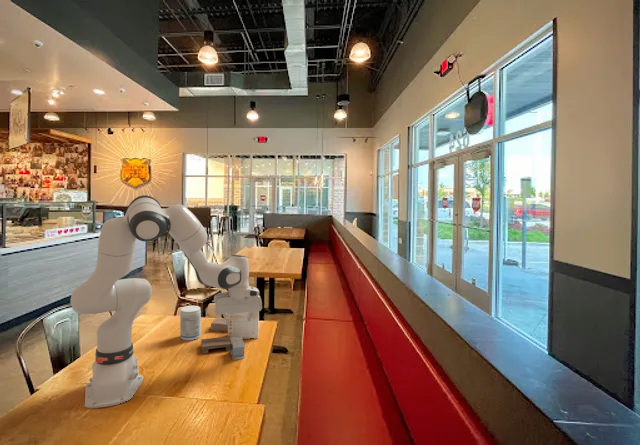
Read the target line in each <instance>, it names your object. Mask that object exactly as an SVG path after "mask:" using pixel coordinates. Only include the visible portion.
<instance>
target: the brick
mask: <svg viewBox="0 0 640 445" xmlns="http://www.w3.org/2000/svg"><path fill="white" fill-rule="evenodd" d="M210 328H211V329H210V330H211V331H212V330H213V331H214V332H222V331H228V324H226V320H225V318H224V317H216V318H214V319H213V321H212V322H211V323H210Z"/></svg>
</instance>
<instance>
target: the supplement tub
mask: <svg viewBox="0 0 640 445" xmlns="http://www.w3.org/2000/svg"><path fill="white" fill-rule="evenodd" d="M179 312H180V314H179V320H180V321H179V322H180V332H179V333H180V335H179V336H180V339H182V340H183V341H194V339H195V340H197V339H199V338H200V337H201V334H202V328H201V327H202V322H201V321H202V319H201V318H202V311H201V306H199V305H186V306H183V307H181V308H180V311H179Z"/></svg>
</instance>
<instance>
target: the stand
mask: <svg viewBox="0 0 640 445" xmlns="http://www.w3.org/2000/svg"><path fill="white" fill-rule="evenodd" d="M200 342H201V351H202V352H201V353H202V355H203V354H204V355H205V354H209V350H213V349H221V348H225V350H226V351H230V336H228V335H227V336H226V335H225V336H218V337H210V338H202V339H201V340H200Z"/></svg>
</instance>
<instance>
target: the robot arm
mask: <svg viewBox="0 0 640 445" xmlns="http://www.w3.org/2000/svg"><path fill="white" fill-rule="evenodd" d="M167 235H170V236H171V237H172V239H173V240H174V241H175V243H176V244H177V245H178V246H179V248H180V250H181V251H182V253H183V255H184V256H185V257H186V259H187V260H188V262H189V263H190V265H191V267H192V268H193V270H194V271H195V276H196V280H197V281H198V282H199V283H200V284H201V285H202V286H208V287H214V288H218V289H222V290H228V291H226V292H217V293H216V294H215V295H214V296H213V301H214V313H215V314H214V315H216V316H221V315H222V316H223V317H222V318H224V319H225V320H226V324H229V318H228V314H232V313H244V312H250V313H251V314H250V316H249V317H247V318H248V319H247V321H248V322H250V321H251V318H252V316H253V315H254V312H255V311H259V312H261V310H262V309H263V302H262V298H261V295H260V290H259V288H257V287H255V286H251V285H250V283H249V276H250V263H249V259H248V257H247V256H246V255H240V254H231V255H229V258H228V259H227V260H226V261H225V262H223V263H221V264H220V263H216V262H213V261H210V260H209V259H207V257H206V256H205V254H204V252H203V251H202V248H203V247H204V246H205V245H206V244H207V241H208V237H209V236H208V233H207V231H206V229H205V226H203V225H202V223H201V221H200V220H199V219H198V217H197V216H196V215H195V214H194V213H193V212H192V211H191V210H190V209H188V207H187V206H185V205H183V204H181V203H178V204H173V205H171V206H169V207H166V208H164V207H163V208H162V205H161V203H160V202H159V201H158V199H156V198H155V197H152V196H151V195H147V194H145V195H138V196H136V197H134V199H133V200H131V202H129V205H128V206H127V207H126V209H125V210H124V211H123V217H113V218H109V219H107V220H106V221H104V223H103V224H102V226H101V229H100V233H99V237H98V238H99V239H98V246H97V260H96V265H95V269H94V271H93V273H92V274H91V276H90V277H89V278H88V279H86V281H84V282H83V283H82V284H80V285H79V286H78V287H75V289H74V291H73V292H72V293H71V295H70V305H71V308H72V310H73V311H74V312H75V313H77V314H78V315H98V314H102V313H109V312H114V313H113V314H112V315H111V316H110V317H109V318H107V319H106V320H105V321H103V322H102V323H101V324H100V325H99V326H98V327H97V330H96V350H95V356H94V357H95V359H94V360H95V361H94V362H92V363H91V366H92V377H90V379H89V382H87V383H86V384H85V389H84V390H85V393H84V394H85V395H84V407H85V408H86V409H99V408H100V409H101V408H107V407H111V406H117V405H120V403H121V404H124V403H126V402H125V401H127V402H129V401H131V400H132V399H133V397H134V396H135V394H136V393H137V391H138V389H139V387H140V386H141V384H142V382H143V381H144V379H145V378H144V375H142V374H139V361H138V360H139V359H138V357H137V356H135V354H134V345H133V342H132V338H133V337H132V334H133V333H132V332H133V323H134V320H135V319H136V317H137V315H138V313H139V311H140V310H141V309H142V308H143V307H144V306H145V305H146V304H147V303H148V302H150V300H151V299H152V295H153V287H152V284H151V283H150V281H148V280H147V279H146V278H142V277H141V278H139V277H131V278H124V277H125V276H127V275H128V274H129V273H131V272H132V270H133V267H134V264H135V262H134V261H135V250H136V248H135V247H136V241H137V240H138V241H140V242H154V241H155V240H158V239H159V238H161V237H165V236H167ZM136 239H137V240H136ZM133 395H134V396H133ZM131 398H132V399H131ZM130 399H131V400H130ZM128 400H129V401H128ZM123 402H124V403H123Z"/></svg>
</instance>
